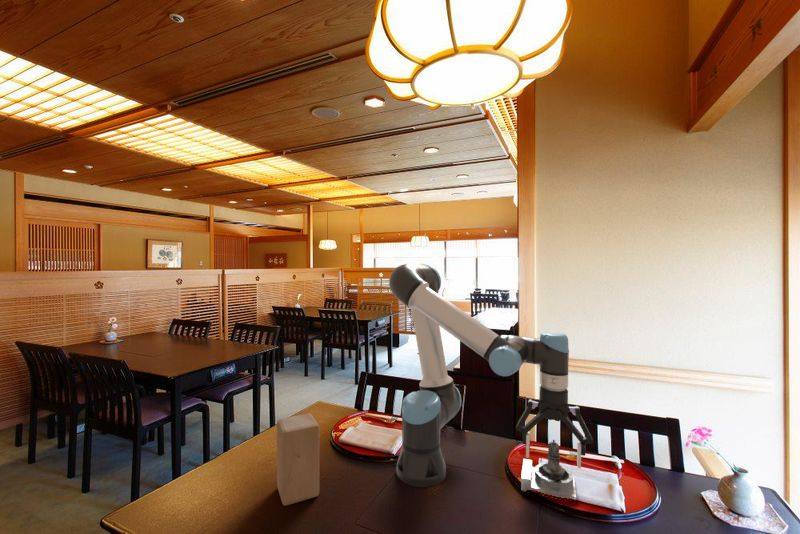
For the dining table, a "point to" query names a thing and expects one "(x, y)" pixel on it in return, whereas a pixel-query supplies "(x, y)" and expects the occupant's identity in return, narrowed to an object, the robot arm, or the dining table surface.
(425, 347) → the robot arm
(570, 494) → the mount
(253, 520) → the dining table surface
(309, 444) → the wooden block
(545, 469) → the grey tall piece
